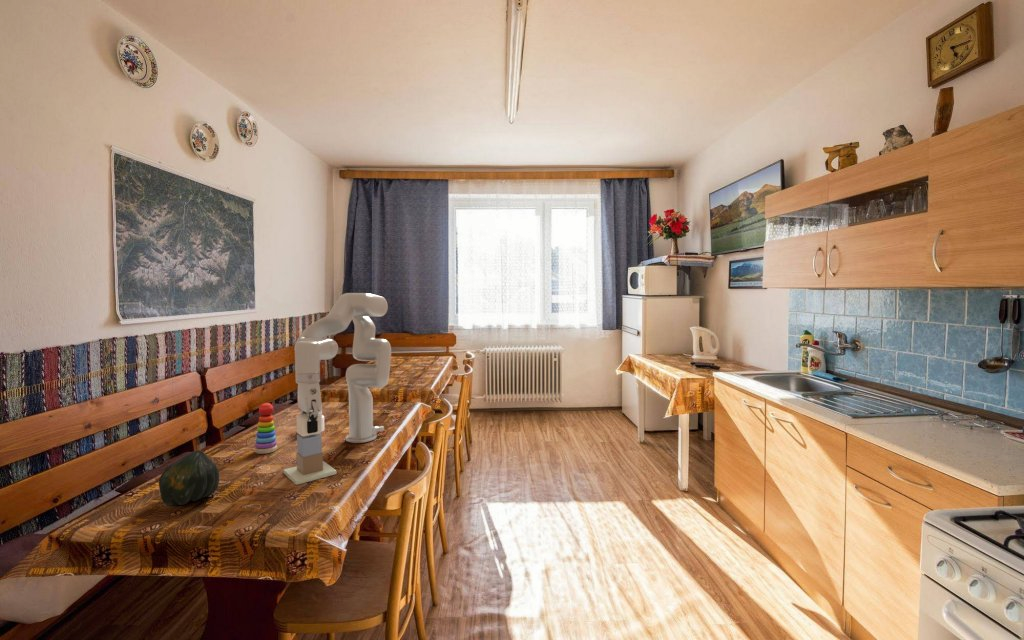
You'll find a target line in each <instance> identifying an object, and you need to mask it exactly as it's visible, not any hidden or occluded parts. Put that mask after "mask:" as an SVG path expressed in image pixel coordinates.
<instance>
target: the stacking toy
mask: <svg viewBox="0 0 1024 640" xmlns="http://www.w3.org/2000/svg"><path fill="white" fill-rule="evenodd" d="M274 411H275V410H274V405H272V403H269V402H265V403H262V404H261V405H260V406H259V407H258V413H259V414H260V416H259V417H258V422H257V432H256V436H257V437H256V438H255V443H254V449H253V451H254V453H256V454H258V455H261V454H262V455H265V454H272V453H274V452H275V451H277V450H278V445H277V436H276V431H275V429H276V427H275V425H274V424H275V422H274V415H273V413H274Z"/></svg>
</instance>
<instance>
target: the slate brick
mask: <svg viewBox="0 0 1024 640" xmlns="http://www.w3.org/2000/svg"><path fill="white" fill-rule="evenodd" d="M322 438H323V437H322V435H321V433H319V434H314V435H309V436H304V437H302V436H301V435H300V434H297V435H296V449H297V452H296V454H297V453H299V454H300V455H301V456H302V457H306V456H311V455H315V454H319V453H323V450H322V449H323V447H322V444H323V443H322V441H323V440H322Z"/></svg>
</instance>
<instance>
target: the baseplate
mask: <svg viewBox="0 0 1024 640" xmlns="http://www.w3.org/2000/svg"><path fill="white" fill-rule="evenodd" d="M323 455H324V453H323V452H322V453H319V454H315V455H311V456H306V457H302V456H301V455H300V454H299V453H297V452H296V466H292V467H286V468H284V469H283V474H284V475H285V476H287V478H288V479H289V480H291V482H293V484H294V485H295V486H296V485H297V486H298V485H301V484H304V483H307V482H312V481H316V480H318V479H319V480H320V479H322V478H323V479H324V478H326V477H330V476H333V475H337V470H336V469H335V468H333V467H332V466H331V465H330V464H328V463H327V462H325V461H324V456H323Z"/></svg>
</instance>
